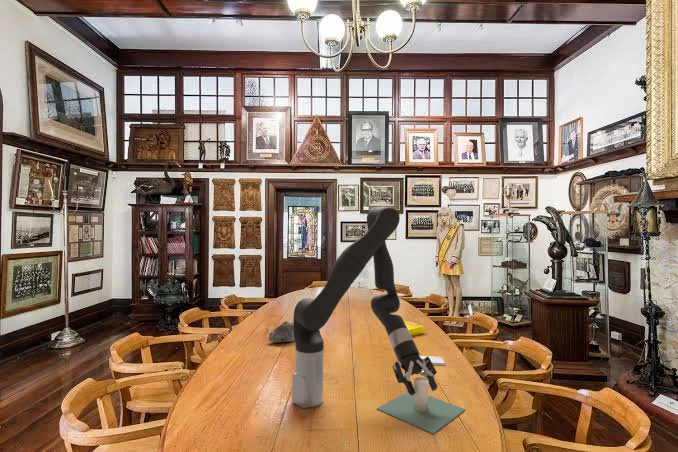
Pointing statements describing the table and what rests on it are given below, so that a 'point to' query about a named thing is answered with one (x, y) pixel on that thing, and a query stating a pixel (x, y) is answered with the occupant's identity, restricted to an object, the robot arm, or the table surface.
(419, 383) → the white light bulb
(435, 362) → the hard drive
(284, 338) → the mineral rock
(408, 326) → the element tile
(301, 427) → the table surface
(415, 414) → the felt mat
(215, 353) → the table surface
